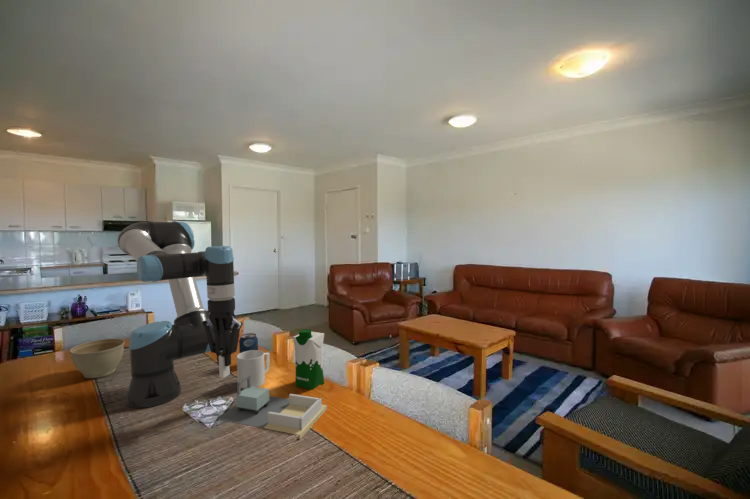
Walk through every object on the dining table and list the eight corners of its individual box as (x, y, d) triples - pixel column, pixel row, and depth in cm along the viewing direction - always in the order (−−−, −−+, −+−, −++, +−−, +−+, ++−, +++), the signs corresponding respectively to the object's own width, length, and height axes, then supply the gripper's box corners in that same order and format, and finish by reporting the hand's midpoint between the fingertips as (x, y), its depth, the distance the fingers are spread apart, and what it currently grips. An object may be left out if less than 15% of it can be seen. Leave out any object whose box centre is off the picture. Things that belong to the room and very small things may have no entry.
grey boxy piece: (236, 411, 105) (235, 382, 104) (249, 401, 111) (248, 374, 110) (257, 415, 103) (256, 385, 102) (269, 405, 108) (268, 377, 108)
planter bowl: (61, 379, 131) (59, 349, 131) (108, 363, 146) (107, 336, 146) (89, 386, 125) (87, 355, 125) (135, 368, 140) (134, 341, 140)
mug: (248, 394, 118) (247, 361, 117) (232, 388, 123) (231, 356, 122) (277, 381, 128) (276, 350, 127) (261, 375, 133) (260, 345, 132)
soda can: (255, 368, 139) (254, 338, 138) (237, 368, 139) (236, 338, 138) (261, 361, 146) (260, 332, 145) (244, 361, 146) (242, 332, 145)
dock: (217, 423, 101) (216, 408, 101) (253, 397, 116) (252, 384, 116) (300, 439, 93) (299, 423, 93) (327, 409, 108) (326, 395, 108)
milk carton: (291, 389, 121) (289, 331, 120) (307, 379, 129) (306, 324, 128) (313, 394, 117) (311, 334, 116) (328, 383, 126) (327, 326, 124)
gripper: (193, 299, 106) (197, 378, 107) (230, 301, 102) (234, 383, 103) (212, 295, 113) (216, 369, 114) (247, 296, 109) (251, 373, 110)
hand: (224, 375), depth 109 cm, fingers closed
